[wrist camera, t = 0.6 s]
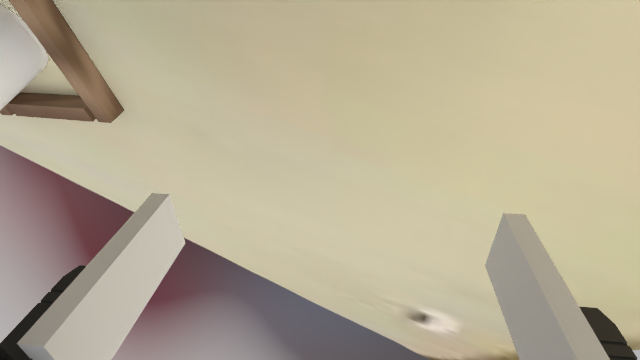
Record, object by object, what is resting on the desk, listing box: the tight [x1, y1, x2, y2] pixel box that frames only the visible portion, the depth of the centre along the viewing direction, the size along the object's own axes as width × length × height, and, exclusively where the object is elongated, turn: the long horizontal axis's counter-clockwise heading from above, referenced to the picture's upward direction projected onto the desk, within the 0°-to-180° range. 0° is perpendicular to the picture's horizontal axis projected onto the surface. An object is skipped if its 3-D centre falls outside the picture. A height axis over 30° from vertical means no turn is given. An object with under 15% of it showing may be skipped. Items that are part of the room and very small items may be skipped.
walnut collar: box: [0, 0, 124, 123], centre depth 30 cm, size 15×15×2 cm
